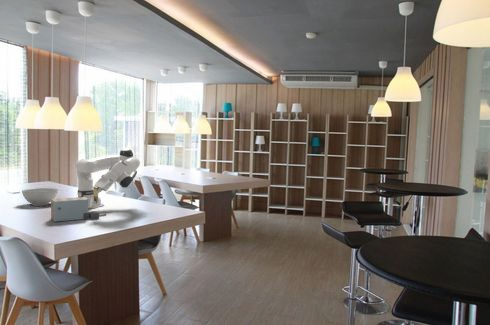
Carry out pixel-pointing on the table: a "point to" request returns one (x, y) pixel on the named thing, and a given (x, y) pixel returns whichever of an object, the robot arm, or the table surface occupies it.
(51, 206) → the cabinet
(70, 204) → the cabinet door
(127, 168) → the robot arm
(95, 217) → the grey hollow ring
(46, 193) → the decorative bowl
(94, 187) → the hinge pin
